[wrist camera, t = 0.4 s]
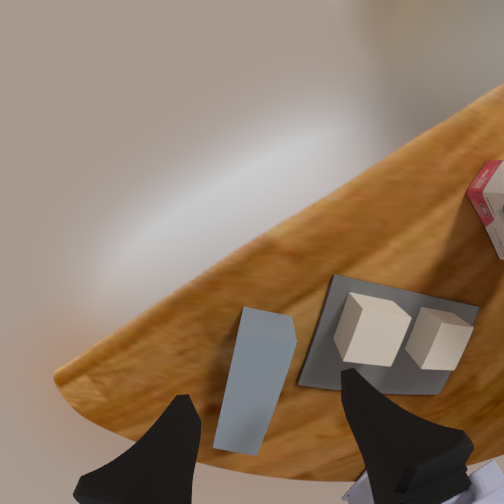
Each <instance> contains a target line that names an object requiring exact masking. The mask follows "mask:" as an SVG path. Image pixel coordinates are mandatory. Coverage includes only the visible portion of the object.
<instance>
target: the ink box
mask: <svg viewBox="0 0 504 504" xmlns="http://www.w3.org/2000/svg"><path fill="white" fill-rule="evenodd" d="M466 194H467V196H468V198H469V199H470V201H471V203H472V204H473V206H474V208H475V210H476V211H477V213H478V215H479V217H480V219H481V221H482V223H483V225H484V227H485V229H486V231H487V233H488V235H489V237H490V239H491V241H492V243H493V245H494V247H495V250H496V252H497V254H498V256H499V259H501V260H504V160H497V161H487V163H486V164H485V165H484V167H483V168H482V169H481V171H480V172H479V174H478V175H477V176H476V178H475V179H474V181H473V182H472V184H471V185H470V187H469V188H468V190H467V192H466Z"/></svg>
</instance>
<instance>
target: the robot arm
mask: <svg viewBox="0 0 504 504" xmlns="http://www.w3.org/2000/svg"><path fill="white" fill-rule="evenodd" d="M341 401H342V404H343V408H344V411H345V415H346V418H347V421H348V423H349V425H350V428H351V430H352V432H353V435H354V437H355V439H356V442H357V444H358V446H359V449H360V451H361V454H362V457H363V460H364V463H365V467H366V471H365V472H364V473H363V474H362V475H361V477H360V478H359V479H358V480H357V481H356V483H355V484H354V485H353V486H352V487H351V488H350V489H349V491H348V492H347V493H346V494H345V495H344V496H343V497H342V500H348V502H349V504H504V475H503V473H502V472H501V470H500V469H499V467H498V465H497V464H496V462H495V461H494V460H491V461H490V462H488V463H487V464H485V465H484V466H482V467H481V468H479V469H477V470H476V471H474V472H473V473H472V474H471V475H469V476H467V474H466V471H467V467H466V465H465V463H466V461H467V460H468V458H469V456H470V455H471V453H472V451H473V449H474V444H473V443H472V441H471V440H470V438H469V437H468V436H467V435H466V434H465V432H464V431H463V430H458V429H453V428H449V427H445V426H441V425H438V424H435V423H432V422H430V421H427V420H425V419H422V418H420V417H418V416H416V415H414V414H412V413H410V412H408V411H406V410H405V409H403V408H401V407H400V406H398V405H397V404H395V403H394V402H392V401H391V400H390V399H388V398H387V397H386V396H384V395H383V394H382V393H381V392H379V391H378V390H377V389H376V388H375V387H373V386H372V385H371V384H370V383H369V382H368V381H367V380H366V379H365V378H364V377H363V376H362V375H361V374H360V373H359V372H358V371H357V370H356V369H355V368H350V369H346V370H342V371H341ZM200 436H201V420H200V418H199V416H198V414H197V412H196V410H195V407H194V405H193V403H192V401H191V399H190V397H189V394H188V395H177V396H176V397H175V398H174V399H173V401H172V402H171V403H170V405H169V406H168V407H167V408H166V410H165V411H164V412H163V414H162V415H161V416H160V417H159V419H158V420H157V421H156V422H155V423H154V425H153V426H152V427H151V428H150V429H149V430H148V431H147V432H146V433H145V435H144V436H143V437H142V438H141V439H140V440H139V441H137V442H136V443H135V444H134V445H133V446H132V447H131V448H130V449H128V450H127V451H126V452H125V453H123V454H121V455H120V456H119V457H117V458H116V459H114V460H113V461H111V462H110V463H108V464H106V465H104V466H103V467H101V468H99V469H97V470H95V471H92V472H90V473H88V474H85V475H83V476H81V477H80V479H79V482H78V484H77V486H76V489H75V491H74V493H73V496H74V498H75V499H76V500H77V501H78V502H79V503H80V504H191V502H192V501H191V500H192V499H191V498H192V481H193V473H194V469H195V464H196V459H197V454H198V448H199V443H200Z"/></svg>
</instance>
